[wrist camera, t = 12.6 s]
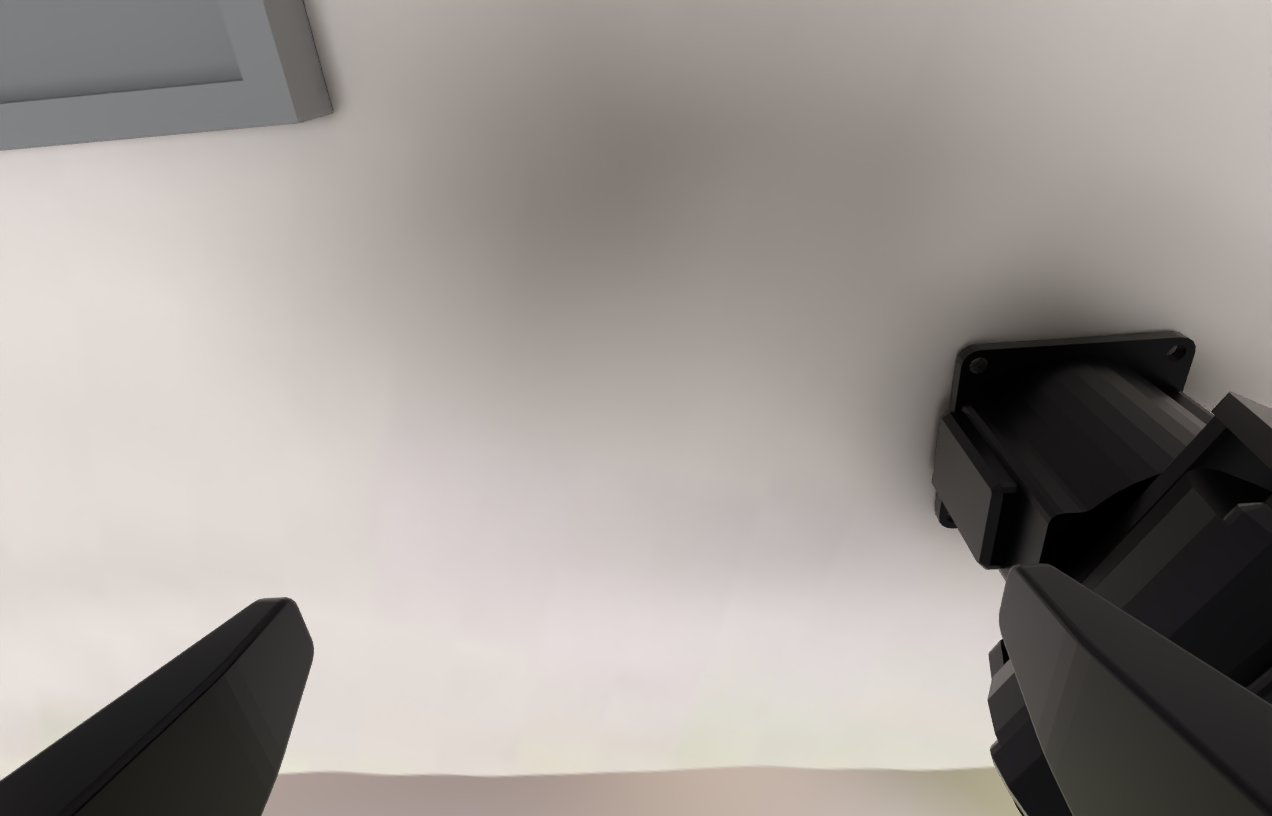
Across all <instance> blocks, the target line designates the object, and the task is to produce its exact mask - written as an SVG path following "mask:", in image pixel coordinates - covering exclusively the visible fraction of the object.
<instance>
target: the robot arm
mask: <svg viewBox="0 0 1272 816" xmlns="http://www.w3.org/2000/svg"><path fill="white" fill-rule="evenodd" d="M1174 346H1177V348H1176V350H1175V351H1174V352H1173V353H1172V354H1170V355H1167V353H1168V352H1169V350H1170V349H1171V348H1173V347H1174ZM1195 348H1196V346H1195V344H1194V341H1192V340H1191V339H1189V338H1188V337H1186V336H1184V335H1183V334H1181V333H1180V332H1159V333H1144V334H1128V335H1113V336H1097V337H1082V338H1067V339H1051V340H1036V341H1020V342H1005V343H989V344H975V345H971V346H968V347H967V348H965V349H963V350H962V351H961V353H960V354H959V355H958V357H957V360H956V366H955V373H954V380H953V387H952V394H951V401H950V408H949V411H947V412H946V413H945V414H944V415H943V416H942V418H941V419H940V425H939V432H938V440H937V447H936V454H935V462H934V469H933V476H932V484H933V486H934V488H935V490H936V491H937V498H936V505H935V515H936V516H937V518H938V520H939V522H940V523H941V525H942V526H944V527H946V528H958V530H959V531H960V533H961V535H962V537H963V538H964V540H965V542H966V544H967V545H968V547H969V549H970V551H971V552H972V554H973V556H974V558H975V559H976V561H977V562H978V563H979V564H980V565H981V566H982V567H983V568H984V569H986V570H990V569H999V571H1000V573H1001V574H1002V576H1003V578H1004V579H1005V581H1006V584H1005V588H1004V593H1003V598H1002V602H1001V607H1000V612H999V626H1000V631H1001V635H1002V638H1003V639H1002V640H1000V641H999V642H998V643H997V645H996V646H995V647H994V648H993V649H992V650H991V651H990V652H989V662H990V670H991V678H992V682H991V686H990V691H989V696H988V705H989V709H990V713H991V718H992V722H993V726H994V731H995V735H996V737H997V739H998V740H997V741H996V742H995V743H994V744H993V745H992V746H991V748H990V752H991V756H992V759H993V763H994V765H995V767H996V769H997V771H998V773H999V775H1000V777H1001V778H1002V780H1003V782H1004V784H1005V786H1006V788H1007V789H1008V792H1009V793H1010V795H1011V796H1012V798H1013V800H1014V802H1015V805H1016V806H1017V808H1018V810H1019V811H1020V813H1021V814H1022V816H1272V409H1270V408H1268V407H1266V406H1263V405H1261V404H1258V403H1256V402H1254V401H1251V400H1249V399H1247V398H1244V397H1242V396H1240V395H1237V394H1235V393H1232V392H1229V393H1228V394H1227V395H1226V396H1225V397H1224V398H1223V399H1222V400H1221V401H1220V403H1219V404H1218V405H1217V406H1216V407H1215V408H1214V409H1213V410H1212V411H1211V412H1212V413H1213V414H1214V415H1215V416H1214V415H1213V414H1211V413H1210V412H1209V411H1207V410H1206V409H1204V408H1203V407H1202V406H1200V405H1199V404H1198V403H1196V402H1195V401H1193V400H1192V399H1191V398H1189V397H1188V396H1187V395H1185V394H1184V393H1182V391H1183V388H1184V385H1185V382H1186V379H1187V376H1188V373H1189V370H1190V366H1191V363H1192V360H1193V357H1194V354H1195ZM977 358H982V362H981V363H980V364H979V365H978V366H977V367H973V368H971V367H970V364H971V362H972V361H973V360H975V359H977ZM948 513H949V514H950V515H948ZM313 655H314V646H313V641H312V638H311V636H310V634H309V631H308V629H307V627H306V624H305V622H304V620H303V617H302V615H301V613H300V610H299V608H298V606H297V604H296V602H295V601H293V600H292V599H291V598H287V597H281V598H263V599H259V600H257V601H255V602H253V603H252V604H250V605H249V606H248V607H246V608H245V609H243V610H242V611H240V612H239V613H238V614H236V615H235V616H233V617H232V618H231V619H229V620H228V621H226V622H225V623H223V624H222V625H221V626H219V627H218V628H216V629H215V630H214V631H212V632H211V633H209V634H208V635H206V636H205V637H204V638H202V639H201V640H199V641H198V642H197V643H195V644H194V645H192V646H191V647H189V648H188V649H187V650H185V651H184V652H182V653H181V654H179V655H178V656H177V657H175V658H174V659H172V660H171V661H170V662H168V663H167V664H165V665H164V666H162V667H161V668H160V669H158V670H157V671H155V672H154V673H153V674H151V675H150V676H148V677H147V678H145V679H144V680H143V681H141V682H140V683H138V684H137V685H135V686H134V687H133V688H131V689H130V690H128V691H127V692H126V693H124V694H123V695H121V696H120V697H118V698H117V699H116V700H114V701H113V702H111V703H110V704H108V705H107V706H106V707H104V708H103V709H101V710H100V711H99V712H97V713H96V714H94V715H93V716H91V717H90V718H89V719H87V720H86V721H84V722H83V723H82V724H80V725H79V726H77V727H76V728H74V729H73V730H72V731H70V732H69V733H67V734H66V735H64V736H63V737H62V738H60V739H59V740H57V741H56V742H55V743H53V744H52V745H50V746H49V747H47V748H46V749H45V750H43V751H42V752H40V753H39V754H38V755H36V756H35V757H33V758H32V759H30V760H29V761H28V762H26V763H25V764H23V765H22V766H20V767H19V768H18V769H16V770H15V771H13V772H12V773H11V774H9V775H8V776H6V777H5V778H3V779H2V780H1V781H0V816H261V815H262V813H263V810H264V807H265V805H266V803H267V801H268V798H269V796H270V793H271V790H272V788H273V785H274V783H275V780H276V778H277V775H278V772H279V769H280V766H281V763H282V760H283V757H284V754H285V751H286V748H287V744H288V741H289V738H290V734H291V731H292V728H293V724H294V721H295V718H296V714H297V711H298V708H299V705H300V701H301V698H302V695H303V691H304V688H305V685H306V681H307V678H308V675H309V671H310V668H311V665H312V661H313Z"/></svg>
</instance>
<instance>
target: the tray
mask: <svg viewBox="0 0 1272 816" xmlns="http://www.w3.org/2000/svg"><path fill="white" fill-rule="evenodd" d="M331 113H333V110H332V107H331V103H330V99H329V96H328V92H327V88H326V85H325V81H324V77H323V74H322V70H321V66H320V63H319V59H318V55H317V52H316V48H315V44H314V41H313V37H312V33H311V30H310V26H309V22H308V19H307V15H306V11H305V8H304V4H303V0H0V151H1V150H12V149H23V148H34V147H45V146H55V145H66V144H77V143H88V142H99V141H110V140H121V139H131V138H142V137H153V136H164V135H175V134H186V133H197V132H208V131H218V130H229V129H240V128H251V127H262V126H273V125H284V124H294V123H301V122H304V121H307V120H311V119H314V118H317V117H321V116H324V115H327V114H331Z"/></svg>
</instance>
